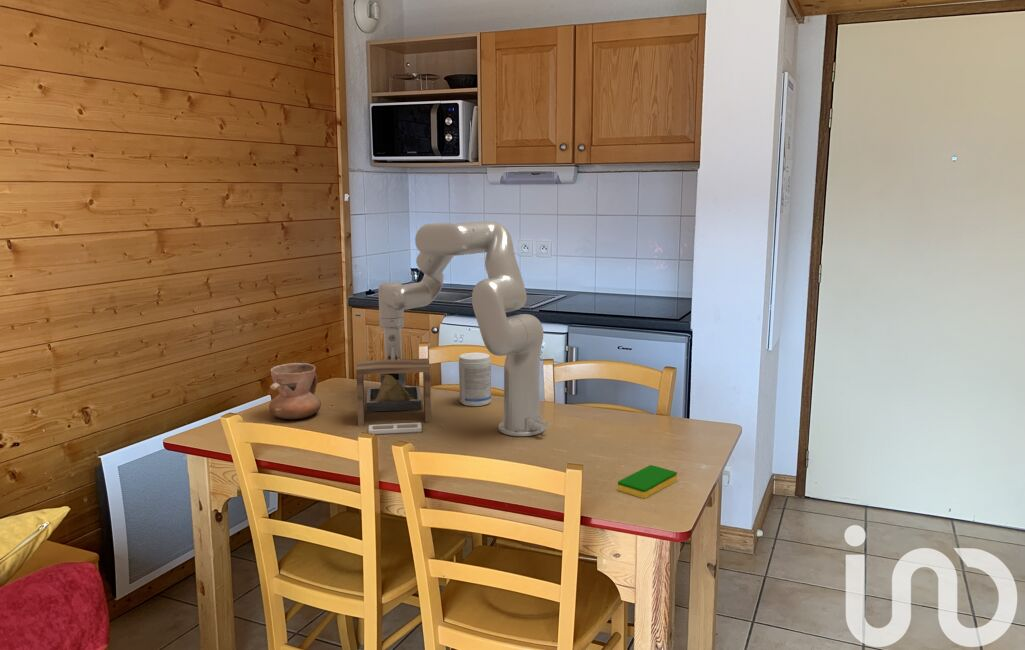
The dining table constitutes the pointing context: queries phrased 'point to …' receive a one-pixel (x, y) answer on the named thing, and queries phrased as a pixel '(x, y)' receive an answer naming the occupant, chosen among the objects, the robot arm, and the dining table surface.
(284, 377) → the ceramic jug
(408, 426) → the plate
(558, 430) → the dining table surface
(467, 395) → the supplement tub
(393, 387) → the rock
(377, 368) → the tunnel
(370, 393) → the slider
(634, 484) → the dish sponge
